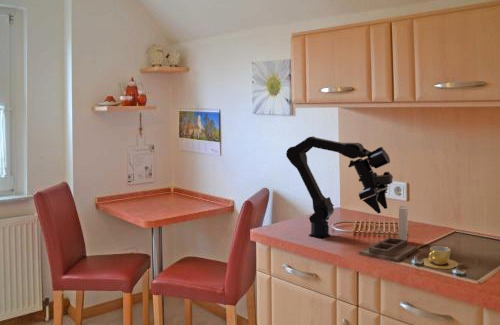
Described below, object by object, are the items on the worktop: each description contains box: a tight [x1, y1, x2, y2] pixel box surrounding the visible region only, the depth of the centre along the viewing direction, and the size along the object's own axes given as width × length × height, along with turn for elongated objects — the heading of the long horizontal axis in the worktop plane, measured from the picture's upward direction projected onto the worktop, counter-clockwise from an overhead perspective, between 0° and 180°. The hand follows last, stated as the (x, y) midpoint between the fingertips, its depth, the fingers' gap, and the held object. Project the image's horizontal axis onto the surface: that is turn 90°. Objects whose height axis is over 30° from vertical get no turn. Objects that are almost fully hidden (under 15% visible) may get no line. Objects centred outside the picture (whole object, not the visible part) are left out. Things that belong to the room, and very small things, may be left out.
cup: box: [422, 245, 459, 270], centre depth 173 cm, size 12×12×5 cm
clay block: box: [397, 205, 409, 241], centre depth 197 cm, size 3×5×14 cm, turn 161°
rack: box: [358, 237, 418, 263], centre depth 185 cm, size 14×18×3 cm
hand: (383, 210), depth 195 cm, fingers open, 9 cm apart
